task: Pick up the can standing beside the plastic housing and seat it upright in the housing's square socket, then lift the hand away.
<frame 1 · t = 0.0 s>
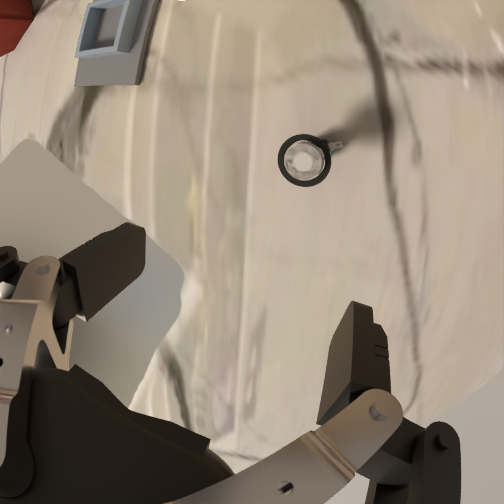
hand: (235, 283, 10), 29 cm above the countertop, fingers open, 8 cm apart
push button: (317, 150, 35), on the countertop
housing: (117, 28, 33), on the countertop
plant pot: (22, 23, 35), on the countertop
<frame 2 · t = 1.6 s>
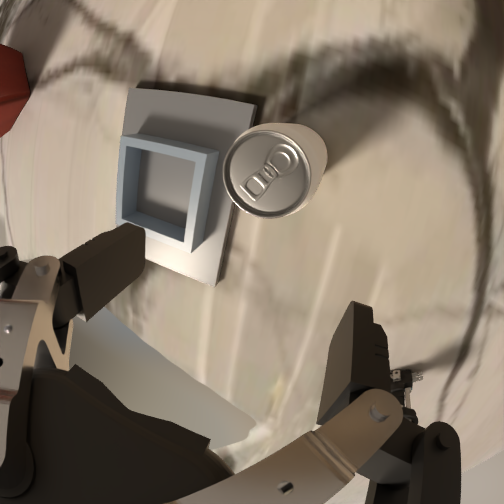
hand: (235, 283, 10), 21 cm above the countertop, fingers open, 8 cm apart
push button: (400, 374, 35), on the countertop
housing: (173, 184, 33), on the countertop
plant pot: (15, 92, 35), on the countertop
can: (295, 154, 28), on the countertop
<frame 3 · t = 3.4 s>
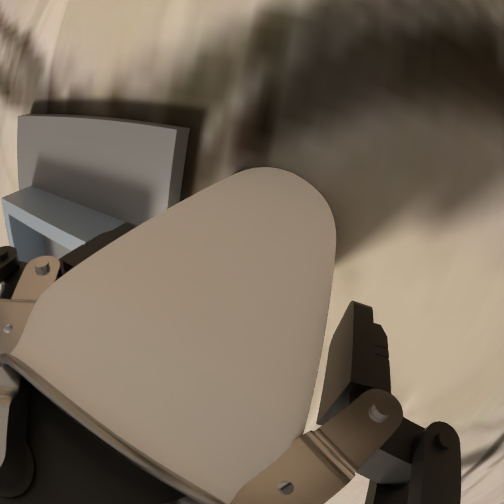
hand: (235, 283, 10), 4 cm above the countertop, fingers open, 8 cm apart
housing: (87, 262, 20), on the countertop
can: (270, 230, 14), on the countertop
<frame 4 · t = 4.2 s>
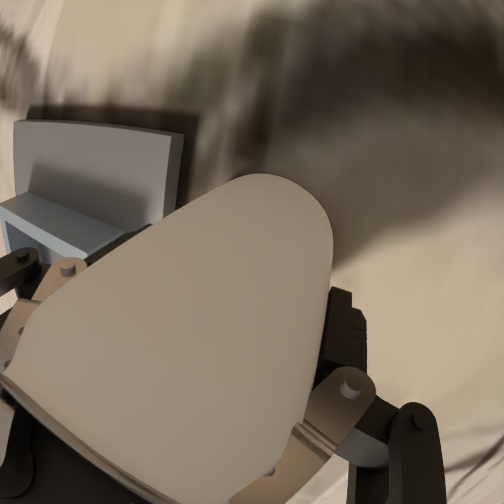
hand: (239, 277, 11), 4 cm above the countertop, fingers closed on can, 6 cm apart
housing: (83, 268, 19), on the countertop
can: (267, 237, 14), on the countertop, touching gripper
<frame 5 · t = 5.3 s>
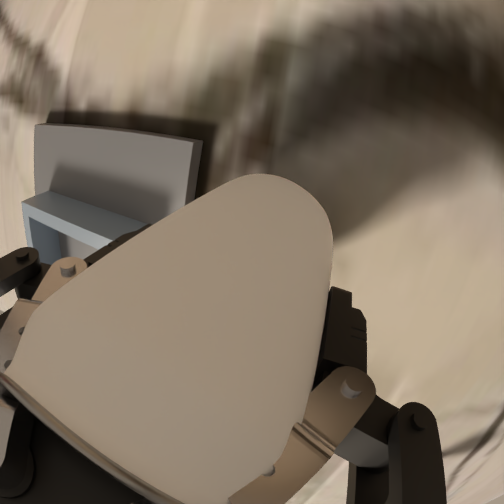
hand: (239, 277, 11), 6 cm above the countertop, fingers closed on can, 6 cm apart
housing: (102, 261, 22), on the countertop
can: (267, 237, 14), point 2 cm above the countertop, touching gripper
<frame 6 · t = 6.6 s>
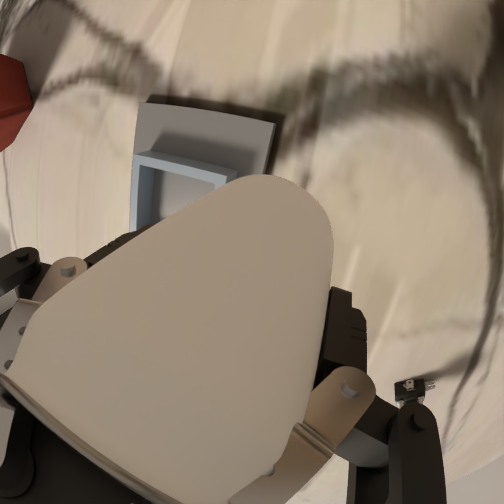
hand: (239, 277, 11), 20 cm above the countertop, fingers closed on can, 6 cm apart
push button: (413, 383, 34), on the countertop
housing: (189, 203, 33), on the countertop
plant pot: (16, 103, 35), on the countertop
can: (267, 237, 14), point 16 cm above the countertop, touching gripper
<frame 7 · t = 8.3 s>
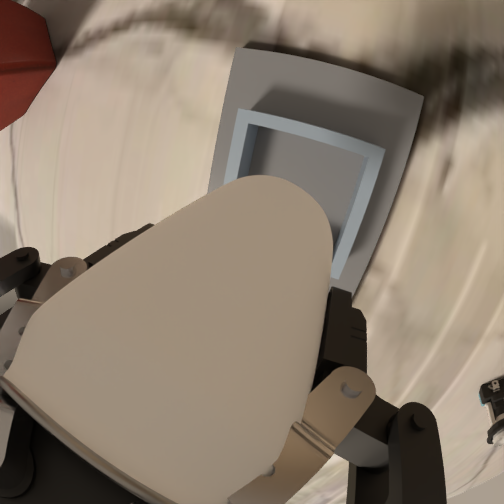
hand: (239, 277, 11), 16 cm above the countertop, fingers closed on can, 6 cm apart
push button: (495, 383, 26), on the countertop
housing: (300, 184, 25), on the countertop
plant pot: (33, 66, 27), on the countertop
can: (266, 238, 14), point 12 cm above the countertop, touching gripper
when the fingers open (6 cm above the countertop, at t = 11.0 s): can drops 1 cm, resting on housing.
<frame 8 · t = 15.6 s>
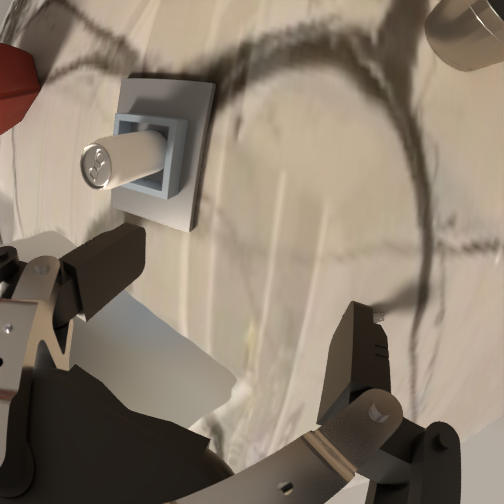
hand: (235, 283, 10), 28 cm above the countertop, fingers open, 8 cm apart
housing: (156, 150, 40), on the countertop
plant pot: (26, 88, 42), on the countertop
can: (153, 151, 39), point 1 cm above the countertop, touching housing
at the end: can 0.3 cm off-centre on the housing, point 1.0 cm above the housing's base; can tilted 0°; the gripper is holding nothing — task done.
